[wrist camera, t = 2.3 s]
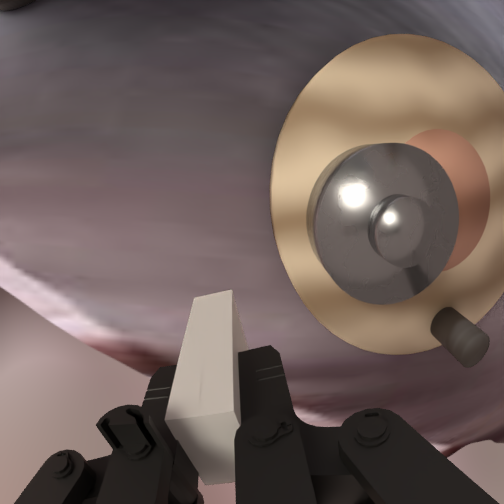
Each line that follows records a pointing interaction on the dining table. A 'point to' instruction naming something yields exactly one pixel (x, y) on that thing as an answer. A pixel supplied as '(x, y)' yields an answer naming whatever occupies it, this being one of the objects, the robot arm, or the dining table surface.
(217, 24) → the dining table surface
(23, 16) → the dining table surface
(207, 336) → the robot arm
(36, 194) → the dining table surface
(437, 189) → the cover
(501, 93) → the turntable
